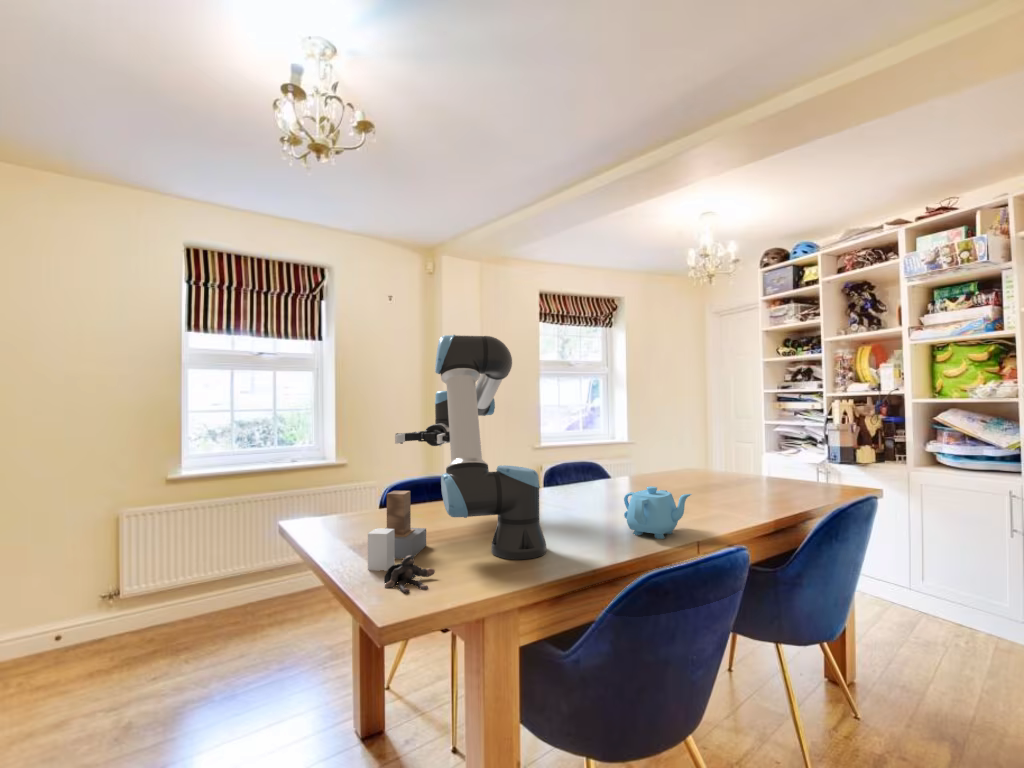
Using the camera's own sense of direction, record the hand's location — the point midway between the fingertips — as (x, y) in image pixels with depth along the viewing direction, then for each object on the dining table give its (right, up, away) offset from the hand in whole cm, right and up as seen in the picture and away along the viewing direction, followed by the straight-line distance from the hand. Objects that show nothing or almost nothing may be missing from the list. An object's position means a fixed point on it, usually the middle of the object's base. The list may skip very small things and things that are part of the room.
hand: (416, 439), depth 154 cm
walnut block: (-2, -24, -15) cm, 29 cm away
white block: (-3, -29, -28) cm, 41 cm away
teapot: (+75, -30, 0) cm, 80 cm away
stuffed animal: (+6, -29, -38) cm, 49 cm away
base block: (-2, -30, -16) cm, 33 cm away
